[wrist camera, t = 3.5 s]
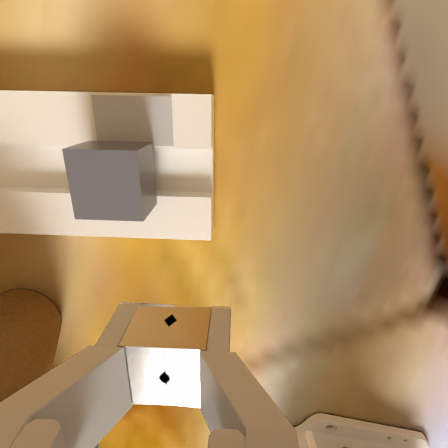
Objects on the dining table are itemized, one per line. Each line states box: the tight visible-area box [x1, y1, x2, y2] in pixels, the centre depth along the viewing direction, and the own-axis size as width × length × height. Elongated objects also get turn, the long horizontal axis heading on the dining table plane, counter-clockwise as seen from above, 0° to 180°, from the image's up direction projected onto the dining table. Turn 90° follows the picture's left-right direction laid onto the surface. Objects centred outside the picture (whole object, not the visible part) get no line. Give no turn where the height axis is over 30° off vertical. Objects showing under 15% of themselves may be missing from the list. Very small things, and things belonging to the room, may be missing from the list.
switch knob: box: [62, 141, 157, 222], centre depth 24 cm, size 5×5×6 cm
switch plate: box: [0, 90, 214, 240], centre depth 27 cm, size 28×12×3 cm, turn 89°
